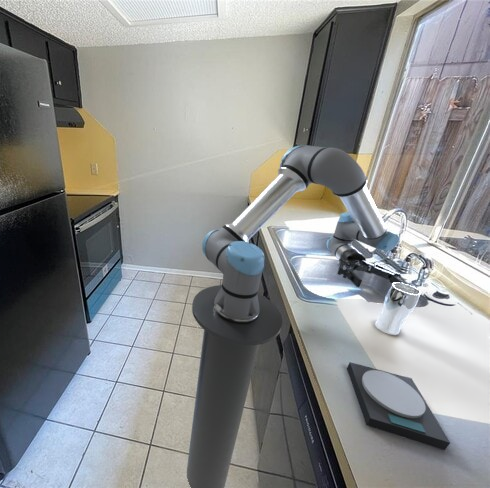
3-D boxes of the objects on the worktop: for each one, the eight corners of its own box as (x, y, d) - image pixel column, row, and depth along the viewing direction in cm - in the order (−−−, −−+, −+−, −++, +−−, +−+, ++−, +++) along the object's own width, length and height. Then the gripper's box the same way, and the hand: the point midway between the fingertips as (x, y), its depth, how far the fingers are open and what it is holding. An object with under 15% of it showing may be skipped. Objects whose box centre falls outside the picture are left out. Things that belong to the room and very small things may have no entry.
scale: (346, 368, 67) (350, 359, 65) (407, 385, 63) (413, 375, 62) (366, 425, 54) (371, 415, 52) (444, 450, 50) (452, 440, 49)
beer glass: (403, 339, 77) (425, 298, 71) (374, 330, 80) (393, 290, 74) (398, 326, 82) (418, 286, 76) (371, 318, 86) (389, 279, 80)
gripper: (380, 268, 104) (418, 300, 85) (315, 262, 108) (337, 291, 89) (387, 252, 101) (429, 280, 82) (320, 246, 105) (344, 272, 86)
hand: (381, 286), depth 85 cm, fingers open, 13 cm apart
